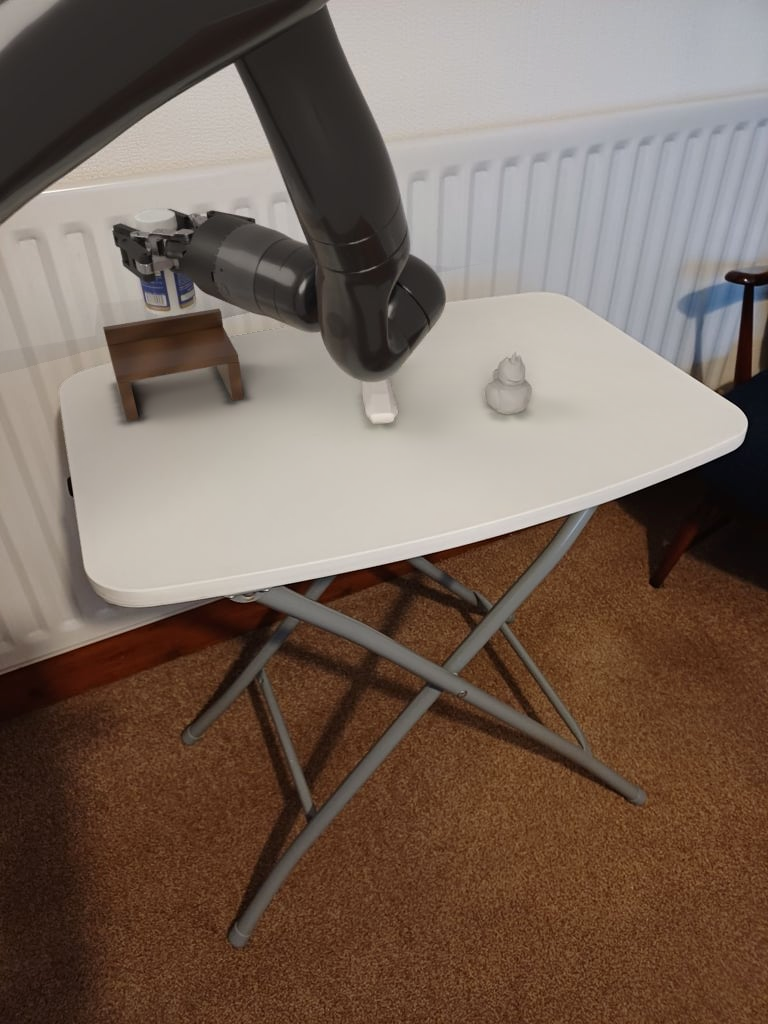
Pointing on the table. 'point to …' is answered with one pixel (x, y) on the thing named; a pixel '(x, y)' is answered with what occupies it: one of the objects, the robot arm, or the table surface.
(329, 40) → the robot arm
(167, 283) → the pill bottle
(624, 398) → the table surface
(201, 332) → the shelf
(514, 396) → the rubber duck
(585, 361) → the table surface
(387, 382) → the white flared handle
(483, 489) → the table surface
